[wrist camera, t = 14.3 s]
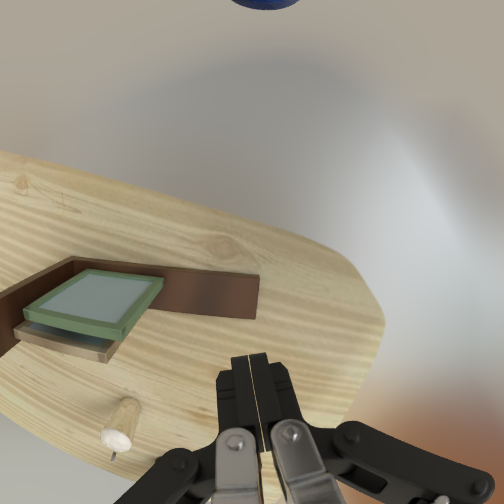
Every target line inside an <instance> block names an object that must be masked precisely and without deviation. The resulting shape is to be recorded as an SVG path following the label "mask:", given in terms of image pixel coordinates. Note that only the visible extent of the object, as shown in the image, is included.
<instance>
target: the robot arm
mask: <svg viewBox="0 0 504 504" xmlns="http://www.w3.org/2000/svg"><path fill="white" fill-rule="evenodd" d="M249 359H250V365H251V372H252V378H251V372H250V367H249V361H248V355H245V356H239V357H232V358H231V365H232V370H225V371H220V373H219V375H218V377H217V379H216V391H217V408H218V422H219V433H218V436H217V438H216V439H215V440H214V442H212V443H211V444H210V445H208V446H206V447H204V448H201V449H199V450H196V451H193V452H192V451H190V450H188V449H185V448H175V449H172V450H169V451H168V452H166V453H165V454H164V455H163V456H162V457H161V458H160V459H159V460H158V461H157V462H156V463H155V464H154V465H153V466H152V467H151V468H150V469H149V470H148V471H147V472H146V473H145V474H144V475H143V476H142V477H141V478H140V479H139V480H138V481H137V482H136V483H135V484H134V485H133V486H132V487H131V488H130V489H129V490H128V491H127V492H126V493H124V494H123V495H122V496H121V497H120V498H119V499H118V500H117V501H116V502H115V503H114V504H205V503H206V502H207V501H208V500H209V499H210V497H211V504H264V497H263V486H262V474H261V468H262V463H261V457H260V453H261V452H264V446H263V440H262V434H261V428H262V433H263V438H264V443H265V448H266V452H267V451H271V452H272V457H273V462H274V468H275V471H276V474H277V478H278V481H279V484H280V487H281V490H282V493H283V496H284V499H285V502H286V504H346V502H345V500H344V497H343V495H342V493H341V491H340V489H339V486H338V484H337V482H336V480H335V479H337V480H338V481H340V482H342V483H344V484H346V485H348V486H350V487H352V488H354V489H356V490H358V491H359V492H362V493H363V494H366V495H368V496H370V497H372V498H374V499H376V500H378V501H380V502H383V503H385V504H483V503H484V502H486V501H487V500H488V499H489V498H490V497H491V496H492V494H493V492H494V489H495V482H494V479H493V478H492V476H491V475H490V474H489V473H487V472H484V471H481V470H478V469H475V468H472V467H468V466H466V465H463V464H460V463H456V462H454V461H451V460H449V459H446V458H443V457H440V456H438V455H435V454H432V453H430V452H427V451H425V450H422V449H420V448H417V447H415V446H413V445H410V444H408V443H405V442H403V441H401V440H398V439H396V438H394V437H392V436H389V435H387V434H385V433H383V432H380V431H378V430H376V429H374V428H372V427H370V426H368V425H365V424H363V423H361V422H358V421H347V422H344V423H342V424H340V425H339V426H338V427H337V428H317V427H314V426H311V425H310V424H308V423H307V422H306V421H305V420H304V419H303V417H302V415H301V411H300V408H299V405H298V402H297V398H296V395H295V392H294V389H293V386H292V382H291V380H290V376H289V373H288V370H287V368H286V367H285V366H284V365H283V364H282V363H281V362H276V363H271V364H269V363H268V359H267V355H266V352H264V353H258V354H251V355H249ZM252 379H253V383H252ZM253 385H254V389H253ZM254 390H255V394H254ZM255 396H256V400H255ZM256 401H257V405H256ZM257 407H258V411H257ZM258 412H259V416H258ZM259 417H260V422H261V427H260V422H259Z"/></svg>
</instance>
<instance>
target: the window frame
mask: <svg viewBox="0 0 504 504" xmlns="http://www.w3.org/2000/svg"><path fill="white" fill-rule="evenodd" d="M86 269H95V270H103V271H111V272H119V273H127V274H136V275H144V276H153V277H162V278H164V286H163V288H162V289H161V290H160V291H159V293H158V294H157V295H156V297H155V298H154V299H153V301H152V302H151V303H150V305H149V306H148V307H147V308H149V309H156V310H164V311H172V312H181V313H190V314H199V315H209V316H219V317H230V318H241V319H254V320H255V318H256V309H257V300H258V291H259V281H260V277H259V275H252V274H240V273H229V272H218V271H207V270H196V269H186V268H176V267H166V266H156V265H146V264H137V263H128V262H119V261H110V260H101V259H92V258H84V257H75V256H71V257H69V258H67V259H65V260H63V261H60V262H58V263H56V264H54V265H52V266H50V267H48V268H46V269H44V270H42V271H40V272H38V273H36V274H34V275H32V276H30V277H28V278H26V279H25V280H23V281H21V282H19V283H17V284H15V285H13V286H11V287H9V288H7V289H6V290H4V291H2V292H0V358H1V357H2V356H3V355H4V354H5V353H6V352H8V351H9V350H10V349H11V348H12V347H14V346H15V345H16V344H17V343H19V342H20V341H21V340H22V341H25V342H28V343H32V344H35V345H38V346H41V347H44V348H48V349H51V350H54V351H58V352H61V353H65V354H69V355H72V356H76V357H80V358H84V359H88V360H92V361H96V362H101V363H105V364H107V363H108V362H109V360H110V359H111V357H112V356H113V355H114V353H115V352H116V350H117V349H118V348H119V346H120V345H121V343H122V342H123V341H124V340H123V341H122V342H121V341H116V340H110V339H105V338H100V337H95V336H91V335H86V334H82V333H77V332H73V331H69V330H64V329H60V328H56V327H52V326H48V325H45V324H41V323H37V322H34V321H30V320H26V319H25V318H24V312H23V309H24V308H25V307H27V306H28V305H30V304H31V303H33V302H34V301H36V300H37V299H39V298H41V297H42V296H44V295H45V294H47V293H48V292H50V291H52V290H53V289H55V288H56V287H58V286H60V285H61V284H63V283H64V282H66V281H68V280H69V279H71V278H73V277H74V276H76V275H78V274H79V273H81V272H83V271H84V270H86ZM145 311H146V310H145ZM145 311H144V312H145ZM142 315H143V314H142ZM142 315H141V316H142ZM139 319H140V318H139ZM139 319H138V320H139ZM136 323H137V322H136ZM136 323H135V324H136ZM134 326H135V325H134ZM134 326H133V327H134ZM133 327H132V328H133ZM131 330H132V329H131ZM131 330H130V331H131ZM130 331H129V332H130ZM128 334H129V333H128ZM128 334H127V335H128ZM127 335H126V336H127ZM125 338H126V337H125ZM125 338H124V339H125Z"/></svg>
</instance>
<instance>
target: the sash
mask: <svg viewBox="0 0 504 504" xmlns="http://www.w3.org/2000/svg"><path fill="white" fill-rule="evenodd" d="M163 286H164V278H162V277H153V276H144V275H136V274H127V273H119V272H111V271H103V270H95V269H86V270H84V271H83V272H81V273H79V274H78V275H76V276H74V277H73V278H71V279H69V280H68V281H66V282H64V283H63V284H61V285H60V286H58V287H56V288H55V289H53V290H52V291H50V292H48V293H47V294H45V295H44V296H42V297H41V298H39V299H37V300H36V301H34V302H33V303H31V304H30V305H28V306H27V307H25V308H24V309H23V312H24V318H25V319H26V320H30V321H34V322H37V323H41V324H45V325H48V326H52V327H56V328H60V329H64V330H69V331H73V332H77V333H82V334H86V335H91V336H95V337H100V338H105V339H110V340H116V341H121V342H122V341H123V340H124V338H125V337H126V335H127V334H128V333H129V331H130V330H131V329H132V327H133V326H134V325H135V323H136V322H137V321H138V319H139V318H140V317H141V315H142V314H143V313H144V311H145V310H146V309H147V307H148V306H149V305H150V303H151V302H152V301H153V299H154V298H155V297H156V295H157V294H158V293H159V291H160V290H161V289H162V288H163Z"/></svg>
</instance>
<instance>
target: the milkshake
mask: <svg viewBox="0 0 504 504" xmlns="http://www.w3.org/2000/svg"><path fill="white" fill-rule="evenodd" d="M140 413H141V405H140V403H139V402H138V401H137V400H135V399H133V398H128V397H126V398H124V399H123V400H122V401H121V403H120V404H119V406H118V407H117V409H116V410H115V412H114V413H113V415H112V416H111V418H110V419H109V421H108V422H107V424H106V425H105V426H104V428H103V429H102V430H101V432H100V438H101V440H102V442H104V443H105V445H106V446H107V447H109V448H111V449H113V450H114V451H113V455H112V458H111V461H112V462H114V460H115V456H116V453H117V451H119V452H125V451H128V450H130V448H131V446H132V442H133V438H134V434H135V430H136V426H137V423H138V419H139V416H140Z"/></svg>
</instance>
